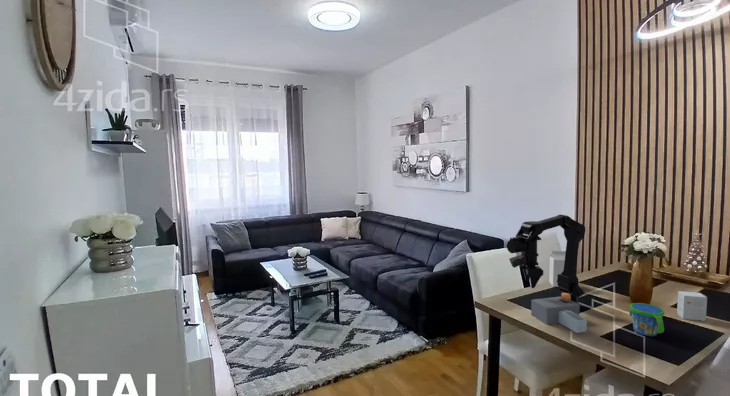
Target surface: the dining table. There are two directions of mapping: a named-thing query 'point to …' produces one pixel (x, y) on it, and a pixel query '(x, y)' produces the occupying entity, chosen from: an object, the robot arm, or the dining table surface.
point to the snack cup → (647, 319)
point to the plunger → (566, 297)
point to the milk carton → (556, 266)
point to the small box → (692, 306)
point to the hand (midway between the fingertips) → (530, 284)
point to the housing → (551, 308)
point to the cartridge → (572, 321)
